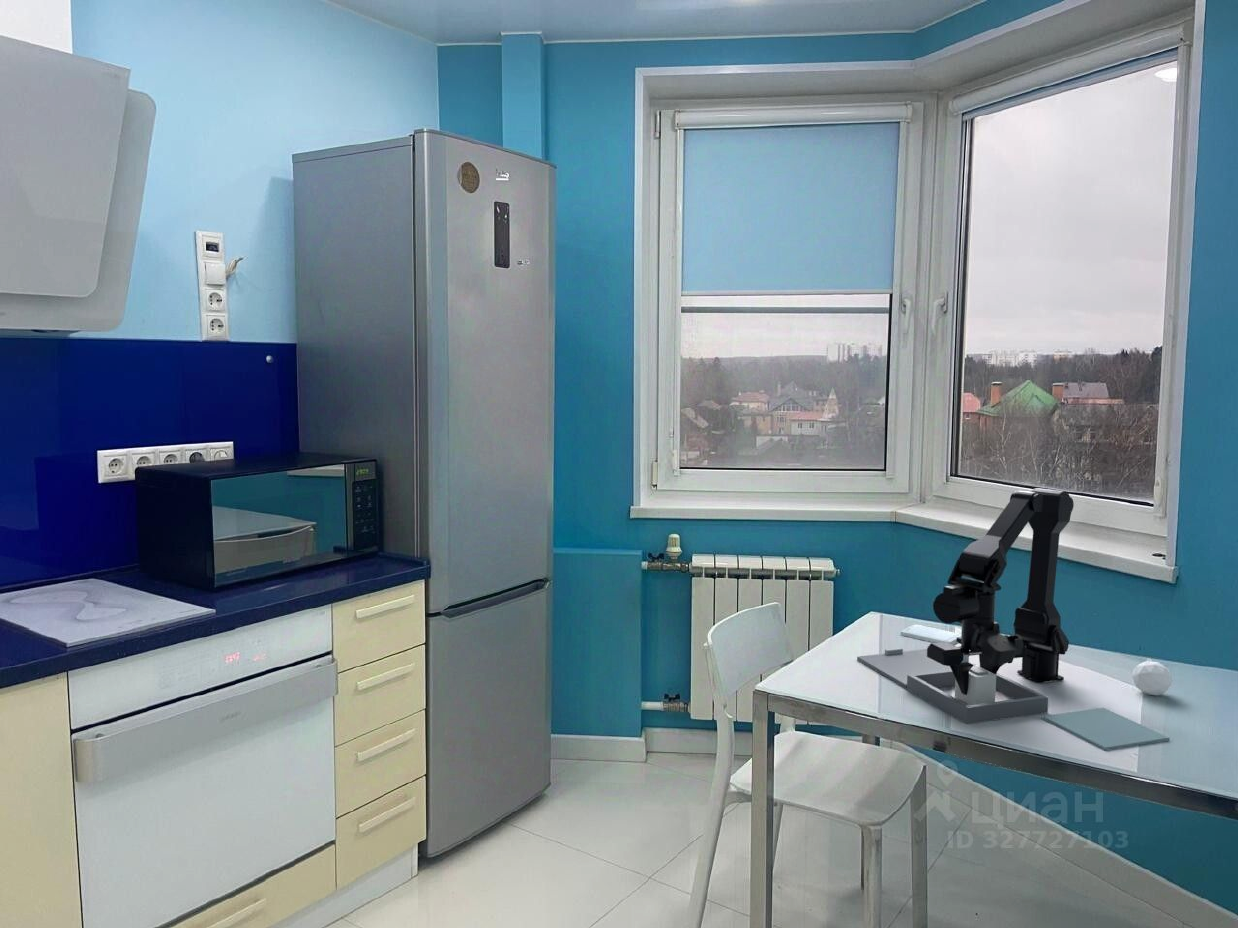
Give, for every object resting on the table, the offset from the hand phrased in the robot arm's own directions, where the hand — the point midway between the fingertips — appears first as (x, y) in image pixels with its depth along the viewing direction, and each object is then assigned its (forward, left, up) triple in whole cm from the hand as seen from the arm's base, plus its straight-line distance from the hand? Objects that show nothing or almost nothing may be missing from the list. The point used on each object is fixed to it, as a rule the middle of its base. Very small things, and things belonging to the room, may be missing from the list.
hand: (974, 692), depth 166 cm
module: (0, 0, -2) cm, 2 cm away
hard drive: (-18, -37, -2) cm, 41 cm away
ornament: (-36, +7, -2) cm, 37 cm away
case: (0, -9, -1) cm, 9 cm away
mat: (-13, +18, -2) cm, 22 cm away
